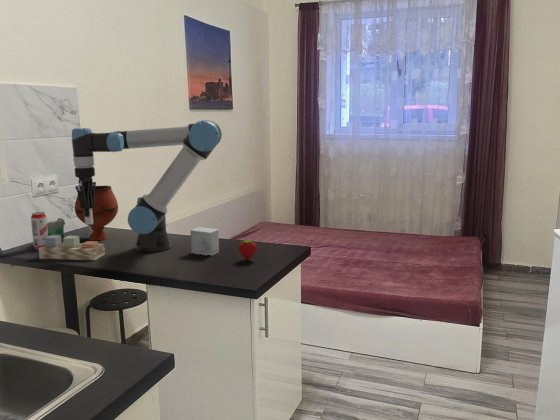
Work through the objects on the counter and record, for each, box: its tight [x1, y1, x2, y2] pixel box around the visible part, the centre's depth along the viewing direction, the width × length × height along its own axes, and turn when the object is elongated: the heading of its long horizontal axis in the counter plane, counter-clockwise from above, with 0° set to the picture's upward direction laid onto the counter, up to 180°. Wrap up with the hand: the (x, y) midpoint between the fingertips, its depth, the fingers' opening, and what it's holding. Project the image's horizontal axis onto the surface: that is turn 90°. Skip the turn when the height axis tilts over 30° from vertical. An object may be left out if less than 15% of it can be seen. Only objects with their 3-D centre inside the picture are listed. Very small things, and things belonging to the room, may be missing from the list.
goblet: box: [74, 185, 119, 241], centre depth 238 cm, size 19×19×25 cm
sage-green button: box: [62, 235, 81, 248], centre depth 209 cm, size 5×5×4 cm
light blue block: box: [45, 235, 63, 248], centre depth 209 cm, size 5×5×4 cm
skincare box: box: [190, 226, 220, 257], centre depth 214 cm, size 10×6×10 cm, turn 65°
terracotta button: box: [82, 240, 99, 249], centre depth 208 cm, size 5×5×4 cm
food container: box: [47, 217, 66, 243], centre depth 233 cm, size 12×6×10 cm, turn 168°
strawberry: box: [238, 239, 258, 261], centre depth 203 cm, size 6×8×10 cm
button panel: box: [38, 242, 106, 261], centre depth 209 cm, size 24×9×4 cm, turn 84°
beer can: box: [30, 211, 48, 251], centre depth 221 cm, size 6×6×16 cm
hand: (89, 223), depth 206 cm, fingers closed
